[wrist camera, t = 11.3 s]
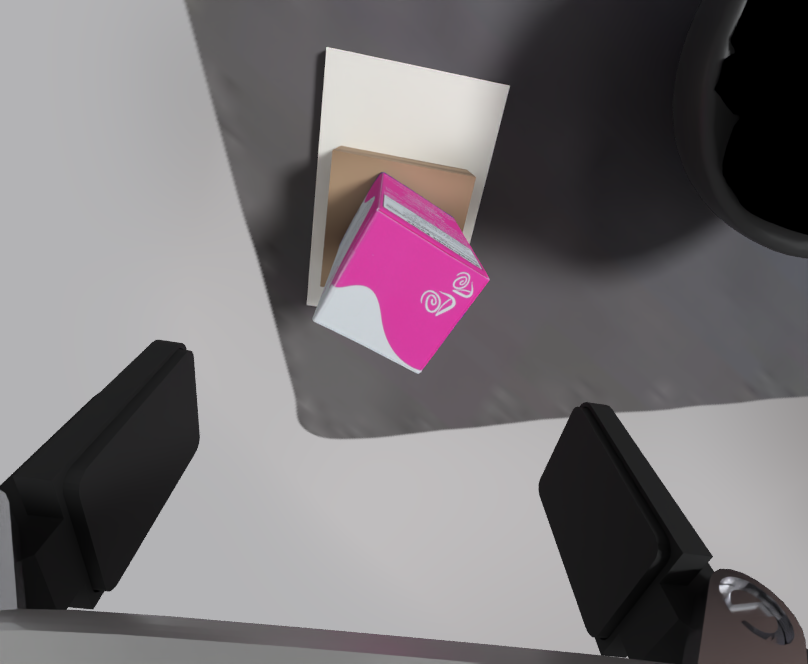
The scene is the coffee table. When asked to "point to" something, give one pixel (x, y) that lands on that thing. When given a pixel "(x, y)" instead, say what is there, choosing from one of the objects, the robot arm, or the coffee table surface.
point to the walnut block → (427, 179)
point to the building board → (402, 126)
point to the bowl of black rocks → (748, 117)
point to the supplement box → (400, 276)
